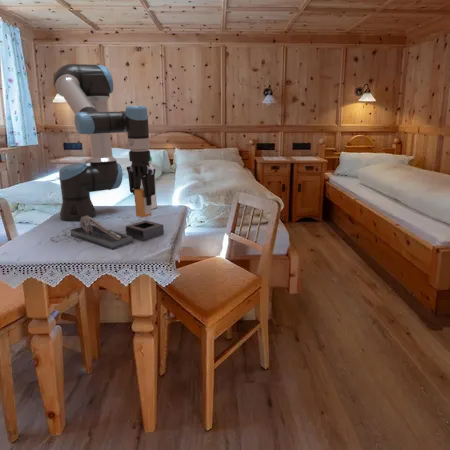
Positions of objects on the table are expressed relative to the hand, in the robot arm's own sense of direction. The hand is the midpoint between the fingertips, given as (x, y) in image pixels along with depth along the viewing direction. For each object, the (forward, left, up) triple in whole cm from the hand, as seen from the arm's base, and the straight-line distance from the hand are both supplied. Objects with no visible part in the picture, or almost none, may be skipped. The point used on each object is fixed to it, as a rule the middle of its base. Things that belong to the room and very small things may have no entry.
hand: (143, 212), depth 153 cm
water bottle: (-31, +30, -9) cm, 44 cm away
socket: (0, 0, -9) cm, 9 cm away
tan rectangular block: (0, 0, -1) cm, 1 cm away
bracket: (-10, -13, -8) cm, 18 cm away
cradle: (-10, -13, -9) cm, 19 cm away
